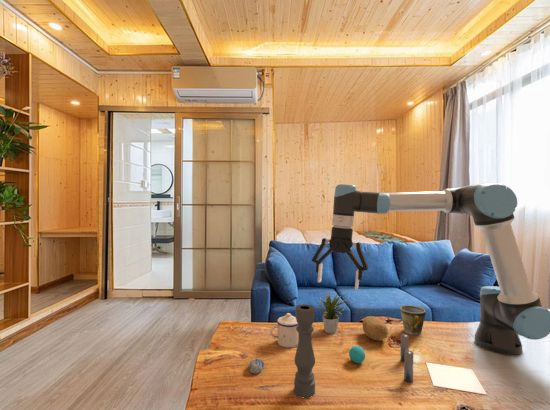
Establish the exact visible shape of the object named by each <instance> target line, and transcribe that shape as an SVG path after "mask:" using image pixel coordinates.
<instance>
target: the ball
mask: <svg viewBox="0 0 550 410" xmlns="http://www.w3.org/2000/svg"><path fill="white" fill-rule="evenodd" d="M348 356H349V358H350V360H351V361H352V362H353V363H355V364H361V363H363V362H364V361H365V359H366V352H365V350H364V349H363V347H361V346H358V345H353V346H352V347H351V348H350V349H349V351H348Z"/></svg>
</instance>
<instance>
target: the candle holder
mask: <svg viewBox="0 0 550 410" xmlns="http://www.w3.org/2000/svg"><path fill="white" fill-rule="evenodd" d="M315 309H316V308H315V306H314V305H311V304H305V303H304V304H297V305H296V306H295V317H296V321H297V323H298V326H297V327H296V330H297V332H298V333H299V337H298V345H297V346H296V350H295V351H296V352H295V356H294V364H295V366H296V369H297V371H296V372H295V376H294V377H295V378H294V379H293V381H294V382H293V383H294V385H293V387H294V388H293V389H294V391H293V392H295V393H294V394H295V395H296V397H298V396H300V397H299V398H301V397H304V398H303V399H308V398H307V397H311V396H313V395H314V396H315V394H316V380H315V374H314V373H313V368H314V366H316V365H315V364H316V356H315V353H314V348H313V343H312V334H313V332H314V331H315V330H314V329H315V328H314V327H313V323H314V322H315V320H316V319H315V317H316V316H315V315H316V314H315V312H316V311H315ZM314 396H313V397H314ZM311 398H312V397H311Z"/></svg>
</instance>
